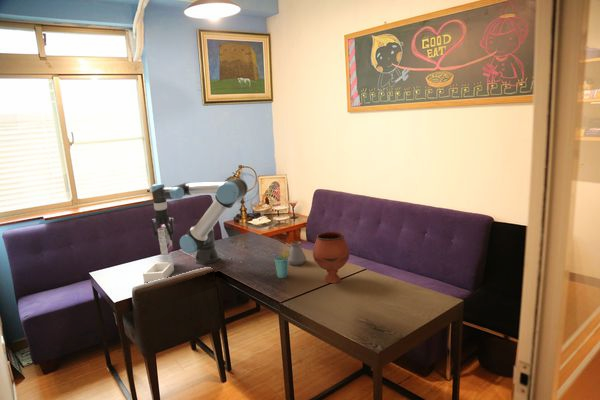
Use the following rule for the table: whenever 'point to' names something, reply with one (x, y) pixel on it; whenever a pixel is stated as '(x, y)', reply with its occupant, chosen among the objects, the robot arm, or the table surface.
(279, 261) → the cup
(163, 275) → the white open box
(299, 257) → the coffee pot
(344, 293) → the table surface
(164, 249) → the candy bar box
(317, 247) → the goblet
